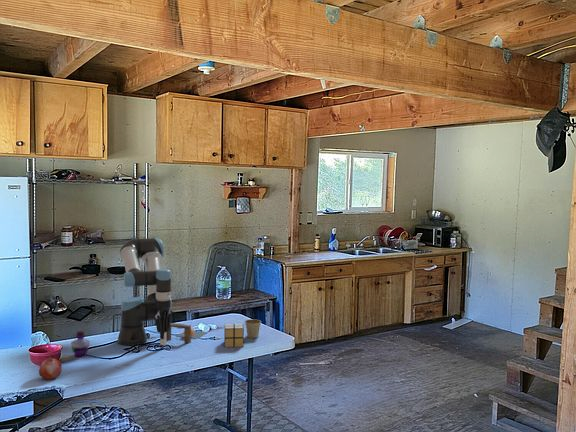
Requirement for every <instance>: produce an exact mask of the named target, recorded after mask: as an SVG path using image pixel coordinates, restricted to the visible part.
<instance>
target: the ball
mask: <svg viewBox="0 0 576 432" xmlns="http://www.w3.org/2000/svg"><path fill="white" fill-rule="evenodd" d="M194 331H195V330H194V329H193V327H191V336H193V334H194ZM183 332H184V335H185V329H184V330H183Z"/></svg>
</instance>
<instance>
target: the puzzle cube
mask: <svg viewBox="0 0 576 432" xmlns="http://www.w3.org/2000/svg"><path fill="white" fill-rule="evenodd" d="M244 328H245V327H244V323H225V324H224V335H223V336H224V339H223V340H224V343H223V344H224V347H225V348H244V345H245V344H244V339H245V337H244V336H245V335H244V334H245V333H244V331H245V330H244Z"/></svg>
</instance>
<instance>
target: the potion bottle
mask: <svg viewBox="0 0 576 432" xmlns="http://www.w3.org/2000/svg"><path fill="white" fill-rule="evenodd" d="M85 337H86V333H85V331H83V330H78V331H77V332H76V334H75V338H76V339H75V340H73V341H71V343H70V344H71V349H72V352H73V354H74V357H75V356H76V358H83V357H82V356H84V357H86V356H87V355H88V349H89V346H90V344H91V343H90V342H91V340H89V339H87V338H85ZM85 355H86V356H85Z"/></svg>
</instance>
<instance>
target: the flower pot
mask: <svg viewBox="0 0 576 432" xmlns="http://www.w3.org/2000/svg"><path fill="white" fill-rule="evenodd" d="M261 323H262V320H260V319H255V318H253V319H250V318H249V319H246V320H244V324H245V327H246V336H247V338H250V339H254V338H256V339H257V338H258V337H259V333H260V328H261V327H260V326H261Z"/></svg>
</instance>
